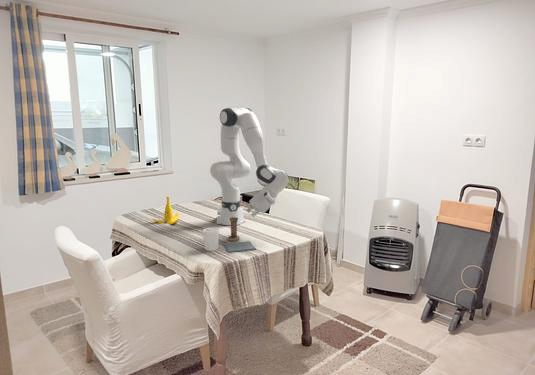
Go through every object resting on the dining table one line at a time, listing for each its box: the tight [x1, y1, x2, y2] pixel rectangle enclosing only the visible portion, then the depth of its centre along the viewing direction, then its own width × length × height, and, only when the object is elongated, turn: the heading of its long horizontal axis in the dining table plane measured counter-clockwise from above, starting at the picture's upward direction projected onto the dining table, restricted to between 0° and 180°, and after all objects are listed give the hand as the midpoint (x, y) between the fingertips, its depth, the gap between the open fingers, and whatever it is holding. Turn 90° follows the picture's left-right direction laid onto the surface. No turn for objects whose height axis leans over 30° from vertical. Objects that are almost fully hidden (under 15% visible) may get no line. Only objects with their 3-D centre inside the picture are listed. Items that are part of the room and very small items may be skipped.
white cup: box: [202, 227, 220, 252], centre depth 199 cm, size 8×8×10 cm
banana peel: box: [151, 195, 179, 225], centre depth 249 cm, size 16×19×17 cm
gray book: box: [223, 240, 257, 253], centre depth 202 cm, size 12×14×1 cm
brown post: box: [228, 217, 240, 242], centre depth 214 cm, size 6×6×12 cm
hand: (249, 213), depth 215 cm, fingers open, 8 cm apart
